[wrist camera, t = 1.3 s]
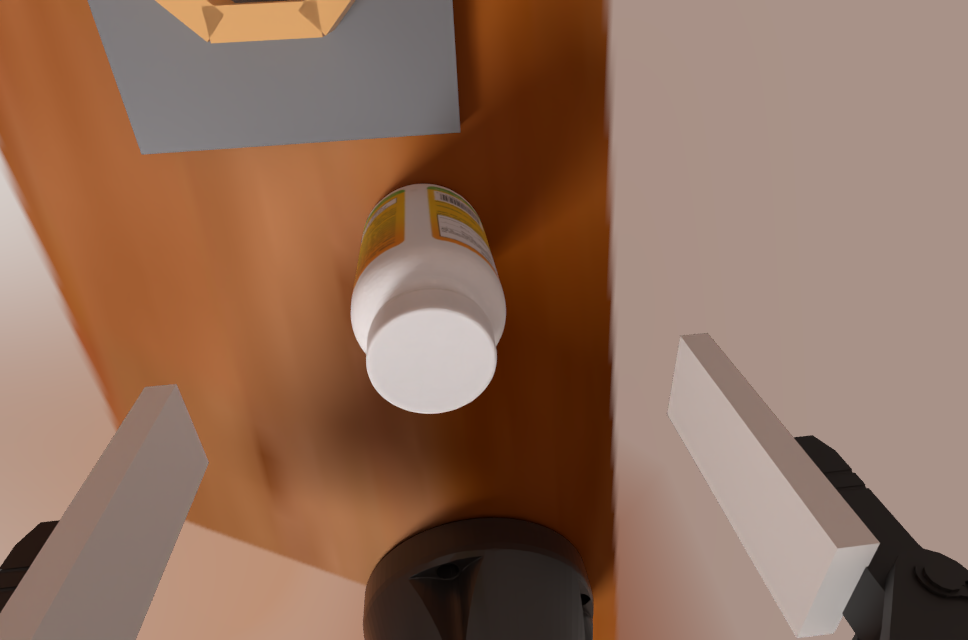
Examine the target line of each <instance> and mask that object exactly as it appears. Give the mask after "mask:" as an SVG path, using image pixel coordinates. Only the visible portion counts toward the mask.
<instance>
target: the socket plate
mask: <svg viewBox="0 0 968 640" xmlns="http://www.w3.org/2000/svg"><path fill="white" fill-rule="evenodd" d="M88 3H89V6H90V9H91V12H92V15H93V17H94V20H95V23H96V26H97V29H98V32H99V34H100V37H101V40H102V43H103V46H104V49H105V52H106V54H107V57H108V60H109V63H110V66H111V69H112V71H113V74H114V77H115V80H116V83H117V86H118V89H119V91H120V94H121V97H122V100H123V103H124V106H125V108H126V111H127V114H128V117H129V120H130V123H131V126H132V128H133V131H134V134H135V137H136V140H137V143H138V145H139V148H140V151H141V154H156V153H170V152H185V151H199V150H214V149H228V148H243V147H257V146H272V145H286V144H301V143H315V142H330V141H344V140H359V139H373V138H387V137H402V136H416V135H431V134H445V133H460V116H459V100H458V83H457V67H456V50H455V34H454V18H453V1H452V0H88Z"/></svg>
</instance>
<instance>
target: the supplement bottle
mask: <svg viewBox="0 0 968 640" xmlns="http://www.w3.org/2000/svg"><path fill="white" fill-rule="evenodd" d="M505 320H506V303H505V298H504V293H503V289H502V286H501V283H500V279H499V277H498V273H497V270H496V267H495V263H494V260H493V257H492V254H491V251H490V247H489V244H488V241H487V238H486V234H485V231H484V228H483V225H482V223H481V220H480V218H479V216H478V215H477V213H476V211H475V210H474V208H473V207H472V206H471V205H470V204H469V203H468V201H467V200H465V199H464V198H463V197H462V196H461V195H459V194H458V193H456V192H454V191H452V190H450V189H448V188H446V187H442V186H439V185H434V184H413V185H408V186H405V187H402V188H399V189H397V190H395V191H393V192H391V193H390V194H388V195H387V196H386V197H384V198H383V199H382V200H381V201H380V202H379V203H378V204H377V205H376V206H375V207H374V208H373V210H372V211H371V213H370V215H369V217H368V219H367V221H366V224H365V227H364V231H363V236H362V241H361V248H360V253H359V259H358V265H357V271H356V276H355V282H354V288H353V293H352V300H351V322H352V327H353V331H354V334H355V337H356V339H357V341H358V343H359V345H360V346H361V348H362V349H363V351H364V352H365V353H366V368H367V372H368V376H369V378H370V380H371V382H372V384H373V386H374V388H375V389H376V390H377V392H378V393H379V394H380V395H381V396H382V397H383V398H384V399H386V400H387V401H388V402H390V403H391V404H393V405H395V406H397V407H399V408H402V409H404V410H407V411H411V412H416V413H424V414H435V413H443V412H448V411H452V410H455V409H458V408H460V407H462V406H464V405H466V404H468V403H470V402H471V401H473V400H474V399H475V398H477V397H478V396H479V395H480V394H481V393H482V392H483V391H484V390H485V389H486V387H487V386H488V385H489V383H490V381H491V380H492V378H493V375H494V373H495V369H496V363H497V350H496V346H497V344H498V342H499V340H500V338H501V336H502V333H503V330H504V326H505Z"/></svg>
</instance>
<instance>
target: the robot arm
mask: <svg viewBox="0 0 968 640" xmlns="http://www.w3.org/2000/svg"><path fill="white" fill-rule="evenodd" d="M667 415H668V417H669V418H670V420H671V422H672V424H673V425H674V427H675V429H676V430H677V432H678V434H679V436H680V437H681V439H682V441H683V443H684V444H685V446H686V448H687V449H688V451H689V453H690V455H691V456H692V458H693V460H694V461H695V463H696V465H697V467H698V468H699V470H700V472H701V474H702V475H703V477H704V479H705V481H706V482H707V484H708V486H709V487H710V489H711V491H712V493H713V494H714V496H715V498H716V500H717V501H718V503H719V505H720V507H721V508H722V510H723V512H724V513H725V515H726V517H727V519H728V520H729V522H730V524H731V526H732V527H733V529H734V531H735V532H736V534H737V536H738V538H739V539H740V541H741V543H742V545H743V546H744V548H745V550H746V551H747V553H748V555H749V556H750V558H751V560H752V562H753V564H754V565H755V567H756V569H757V570H758V572H759V574H760V575H761V577H762V579H763V581H764V583H765V584H766V586H767V588H768V589H769V591H770V593H771V595H772V596H773V598H774V600H775V602H776V603H777V605H778V607H779V608H780V610H781V612H782V614H783V615H784V617H785V619H786V621H787V622H788V624H789V626H790V628H791V629H792V631H793V632H794V634H795V636H796V638H803V637H810V636H817V635H824V634H832V633H834V632H835V630H836V628H837V626H838V624H839V622H840V620H841V619H842V617H843V616H844V617H845V619H846V620H847V621H848V623H849V624H850V626H851V627H852V629H853V630H854V632H855V635H854V637H853V639H852V640H968V570H967V569H966V568H964V567H963V566H962V565H961V564H959V563H958V562H957V561H955V560H952V559H951V558H949V557H947V556H945V555H943V554H941V553H938V552H933V551H930V550H926V549H923V548H922V547H921V546H920V545H918V543H917V542H916V541H915V540H914V539H913V538H912V537H911V536H910V534H909V533H908V532H907V531H906V530H905V529H904V528H903V526H902V525H901V524H900V523H899V522H898V521H897V520H896V519H895V518H894V516H893V515H892V514H891V513H890V512H889V511H888V510H887V508H886V507H885V506H884V505H883V504H882V503H881V502H880V500H879V499H878V498H877V497H876V496H875V495H874V494H873V493H872V491H871V490H870V489H869V488H866V487H865V484H864V482H863V481H862V480H861V479H860V478H859V477H858V476H857V475H856V473H852V469H851V468H850V467H849V465H847V463H846V462H845V461H844V460H843V459H842V458H841V457H840V455H839V454H838V453H837V452H836V451H835V450H834V449H832V448H831V447H829V446H827V445H826V444H825V443H823V442H822V441H820V440H819V439H817V438H816V437H814V436H803V437H795V438H793V436H792V435H791V434H790V433H789V432H788V430H787V429H786V428H785V427H784V425H783V424H782V423H781V422H780V421H779V419H778V418H777V417H776V416H775V414H774V413H773V412H772V411H771V410H770V409H769V407H768V406H767V405H766V403H765V402H764V401H763V400H762V399H761V397H760V396H759V395H758V394H757V393H756V391H755V390H754V389H753V388H752V386H751V385H750V384H749V383H748V382H747V380H746V379H745V378H744V377H743V375H742V374H741V373H740V372H739V371H738V369H737V368H736V367H735V366H734V365H733V363H732V362H731V361H730V360H729V359H728V357H727V356H726V355H725V354H724V352H723V351H722V350H721V349H720V347H719V346H718V345H717V344H716V343H715V341H714V340H713V339H712V338H711V337H710V335H709V334H708V333H704V334H693V335H683V336H680V340H679V346H678V352H677V358H676V364H675V370H674V375H673V382H672V387H671V393H670V399H669V404H668V410H667ZM208 463H209V462H208V459H207V457H206V454H205V452H204V450H203V447H202V445H201V442H200V440H199V437H198V435H197V433H196V430H195V428H194V425H193V423H192V420H191V418H190V416H189V413H188V411H187V408H186V406H185V403H184V401H183V399H182V396H181V394H180V391H179V389H178V387H177V384H173V385H162V386H152V387H145V388H144V390H143V391H142V393H141V394H140V396H139V397H138V399H137V401H136V402H135V404H134V405H133V407H132V408H131V410H130V411H129V413H128V415H127V416H126V418H125V419H124V421H123V422H122V424H121V425H120V427H119V429H118V430H117V432H116V433H115V435H114V436H113V438H112V440H111V441H110V443H109V444H108V446H107V447H106V449H105V451H104V452H103V454H102V455H101V457H100V458H99V460H98V461H97V463H96V465H95V466H94V468H93V469H92V471H91V472H90V474H89V476H88V477H87V479H86V480H85V482H84V483H83V485H82V486H81V488H80V490H79V491H78V493H77V494H76V496H75V497H74V499H73V500H72V502H71V504H70V505H69V507H68V508H67V510H66V511H65V513H64V514H63V516H62V518H61V519H60V520H59V521H50V522H41V523H40V524H38V525H37V526H36V527H35V528H34V529H33V530H32V531H31V532H30V533H28V534H27V535H26V536H25V537H24V538H23V539H22V540H21V541H20V542H18V543H17V544H16V545H15V547H14V548H13V550H12V551H11V552H10V554H9V555H8V557H7V558H6V559H5V561H4V563H3V564H2V565H1V567H0V640H136V638H137V635H138V633H139V631H140V628H141V626H142V623H143V621H144V618H145V616H146V614H147V611H148V609H149V606H150V604H151V601H152V599H153V597H154V594H155V592H156V589H157V587H158V584H159V582H160V580H161V577H162V575H163V572H164V570H165V567H166V565H167V562H168V560H169V558H170V555H171V553H172V551H173V548H174V546H175V543H176V541H177V538H178V536H179V534H180V531H181V529H182V526H183V524H184V521H185V519H186V517H187V514H188V512H189V509H190V507H191V504H192V502H193V500H194V497H195V495H196V492H197V490H198V487H199V485H200V483H201V480H202V478H203V475H204V473H205V470H206V468H207V466H208ZM363 631H364V638H365V640H593V595H592V590H591V586H590V583H589V579H588V576H587V573H586V569H585V566H584V563H583V560H582V558H581V556H580V554H579V553H578V551H577V550H576V548H575V547H574V546H573V545H572V544H571V543H570V542H569V541H568V540H567V539H565V538H564V537H563V536H561V535H560V534H558V533H556V532H555V531H553V530H551V529H548V528H546V527H544V526H541V525H538V524H535V523H531V522H527V521H522V520H516V519H508V518H478V519H469V520H463V521H457V522H453V523H449V524H445V525H441V526H438V527H435V528H432V529H430V530H427V531H425V532H422V533H420V534H418V535H416V536H414V537H412V538H410V539H408V540H407V541H405V542H403V543H402V544H400V545H399V546H397V547H396V548H395V549H393V550H392V551H391V552H390V553H389V554H387V555H386V556H385V557H384V558H383V559H382V560H381V562H380V563H379V564H378V565H377V566H376V568H375V569H374V571H373V572H372V574H371V576H370V578H369V580H368V583H367V586H366V591H365V601H364V617H363Z"/></svg>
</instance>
